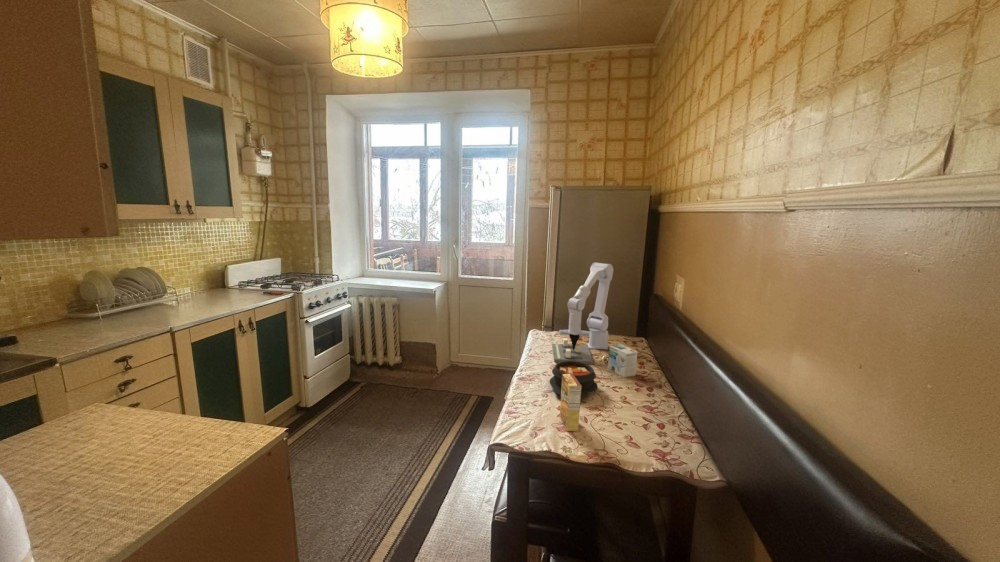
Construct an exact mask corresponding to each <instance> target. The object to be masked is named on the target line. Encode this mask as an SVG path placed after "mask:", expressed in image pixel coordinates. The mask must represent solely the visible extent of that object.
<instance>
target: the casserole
mask: <svg viewBox="0 0 1000 562" xmlns="http://www.w3.org/2000/svg"><path fill="white" fill-rule="evenodd" d="M551 373H552V375H553V376H552V377H550V379H549V385H550V386H551V387H552V391H553V392H554V393H555V394H556V395H558V396H561V388H562V374H574V376H575V377H576V379H577V380H578V382H579V383H580V384H581V399H583V398H587V396H588V395H589V394H592V393H593V392H595V391H597V389H598V383H597V382H596V381H595V379H596V377H597V374H596V372H595V370H594V368H593V367H592V366H591V365H590V364H585V363H581V362H576V361H564V362H556V364H555V365H554V367H553V368H552V370H551Z"/></svg>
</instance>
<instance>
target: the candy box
mask: <svg viewBox="0 0 1000 562" xmlns="http://www.w3.org/2000/svg"><path fill="white" fill-rule="evenodd" d="M581 399H582V398H581V384H580V383H579V382H578V380H577V379H576V377H575V376H574V374H562V388H561V395H560V404H559V405H560V407H559V418H560V420H561V422H562V425H563V426H564V428H565V431H566V432H577V431H578V432H579V426H580V425H579V424H580V411H581Z"/></svg>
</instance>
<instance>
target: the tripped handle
mask: <svg viewBox="0 0 1000 562" xmlns="http://www.w3.org/2000/svg"><path fill="white" fill-rule="evenodd" d="M580 345H581V344H580V342H577V343H576V345H575V351H576V352H580Z"/></svg>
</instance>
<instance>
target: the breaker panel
mask: <svg viewBox="0 0 1000 562" xmlns="http://www.w3.org/2000/svg"><path fill="white" fill-rule="evenodd" d="M568 342H569V340H568V337H567V338H565V337H563V339H562V343H552V344H551V347H552V349H551V350H552V355H553V362H554V363H560V362H564V361H576V362H581V363H585V364H587V365H594V364H595V361H594V359H593V356H592V352H590V348H589V346H588V344H580V352H576V351H575V349H574V350H573V349H572V347H573V346H572V344H569V343H568Z"/></svg>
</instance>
